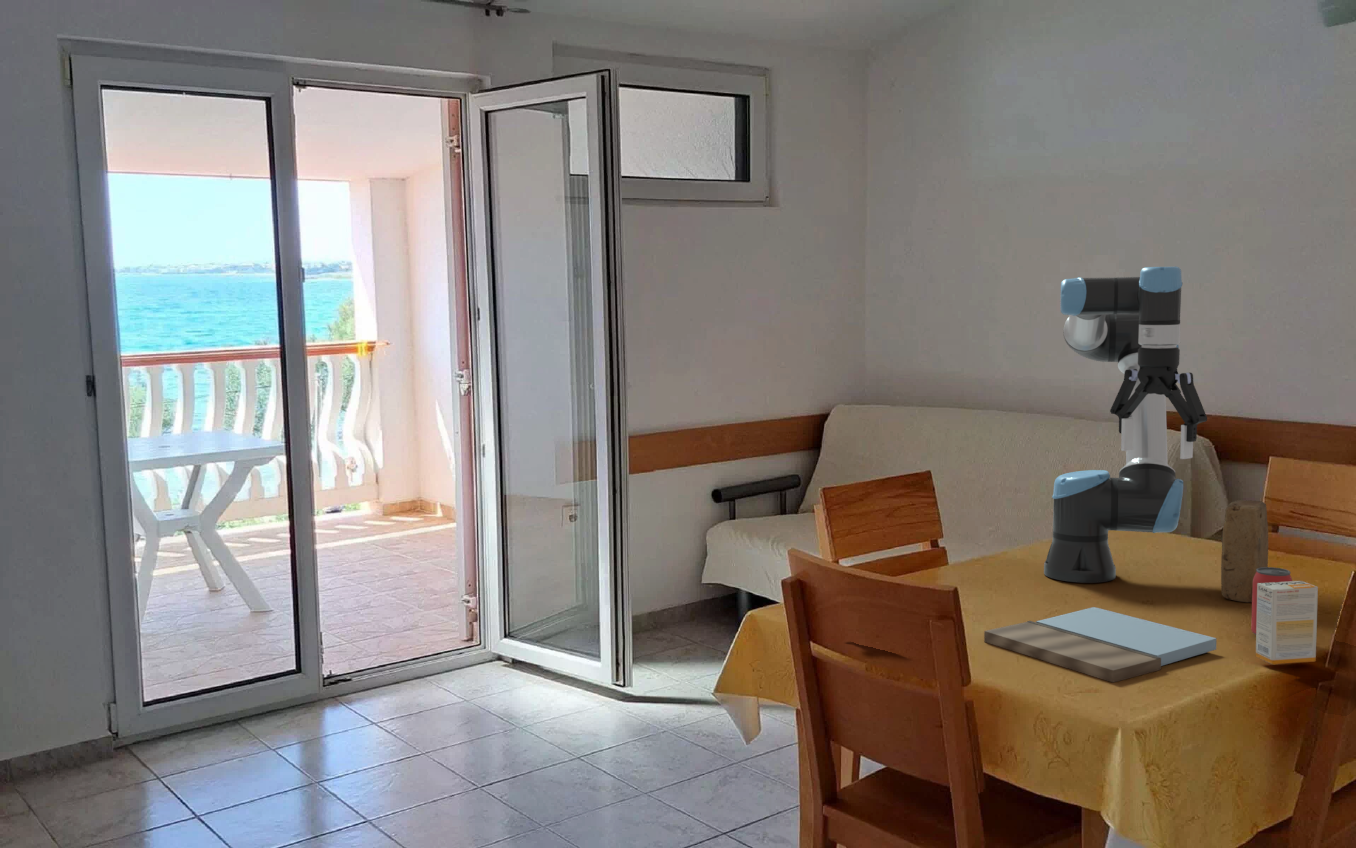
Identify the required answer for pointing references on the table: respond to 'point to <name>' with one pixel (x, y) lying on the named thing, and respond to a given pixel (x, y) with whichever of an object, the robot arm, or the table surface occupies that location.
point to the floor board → (1073, 651)
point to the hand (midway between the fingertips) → (1155, 454)
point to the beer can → (1266, 577)
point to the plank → (1134, 634)
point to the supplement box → (1286, 622)
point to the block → (1243, 548)
